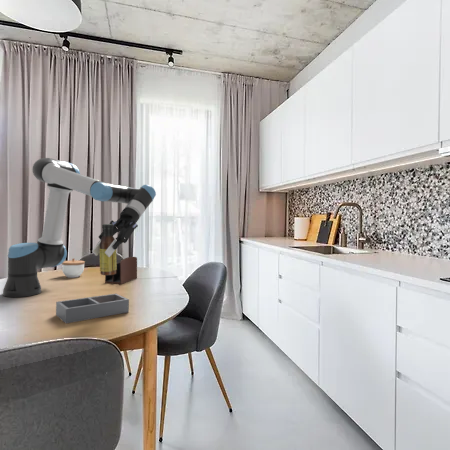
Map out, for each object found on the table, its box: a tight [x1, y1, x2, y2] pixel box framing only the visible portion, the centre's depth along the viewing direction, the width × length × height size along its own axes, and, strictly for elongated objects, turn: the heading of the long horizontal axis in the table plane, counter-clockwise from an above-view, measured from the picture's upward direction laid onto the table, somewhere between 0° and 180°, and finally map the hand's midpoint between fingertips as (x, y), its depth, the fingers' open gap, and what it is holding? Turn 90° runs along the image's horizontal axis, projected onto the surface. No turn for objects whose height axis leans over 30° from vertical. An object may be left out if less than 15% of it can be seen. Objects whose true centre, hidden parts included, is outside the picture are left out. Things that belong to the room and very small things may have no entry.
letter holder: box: [104, 256, 138, 285], centre depth 187 cm, size 10×20×14 cm, turn 170°
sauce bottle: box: [99, 223, 118, 276], centre depth 126 cm, size 7×6×20 cm
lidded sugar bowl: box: [61, 258, 86, 279], centre depth 194 cm, size 13×13×11 cm
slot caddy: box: [55, 293, 130, 324], centre depth 122 cm, size 12×23×5 cm, turn 132°
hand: (100, 254), depth 122 cm, fingers closed on sauce bottle, 6 cm apart
